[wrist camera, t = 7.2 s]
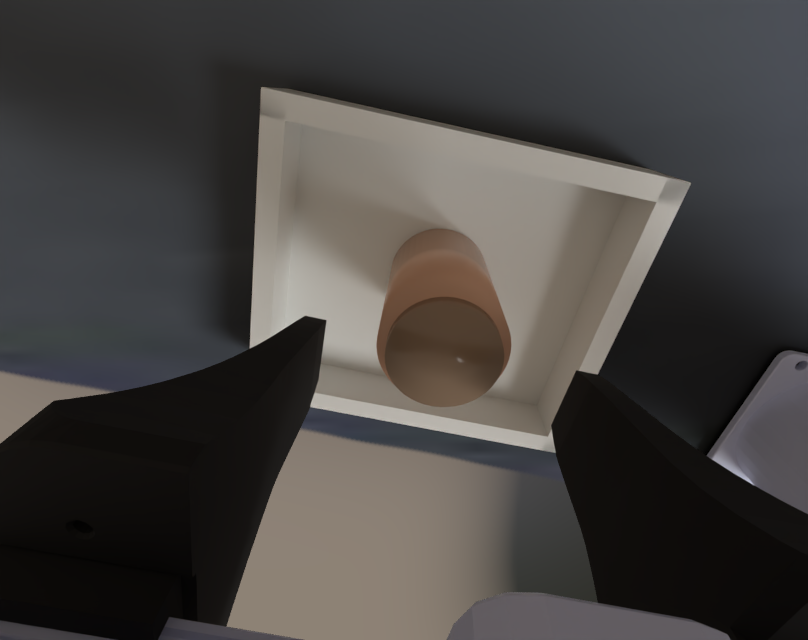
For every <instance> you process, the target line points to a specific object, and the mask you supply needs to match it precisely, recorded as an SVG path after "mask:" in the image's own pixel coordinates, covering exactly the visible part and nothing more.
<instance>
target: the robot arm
mask: <svg viewBox="0 0 808 640" xmlns="http://www.w3.org/2000/svg"><path fill="white" fill-rule="evenodd" d="M326 321H327V320H324V319H319V318H314V317H309V316H304V317H302V318H300V319H299V320H297V321H295V322H294V323H292V324H291V325H289V326H288V327H286V328H284V329H283V330H281V331H280V332H278V333H277V334H275V335H273V336H272V337H270V338H268V339H267V340H265V341H263V342H262V343H260V344H258V345H256V346H254V347H252V348H250V349H248V350H246V351H244V352H242V353H241V354H239V355H237V356H234V357H232V358H230V359H228V360H225V361H223V362H221V363H218V364H216V365H213V366H211V367H208V368H205V369H203V370H200V371H197V372H193V373H190V374H187V375H184V376H180V377H177V378H174V379H171V380H167V381H164V382H160V383H156V384H152V385H148V386H143V387H139V388H134V389H129V390H124V391H119V392H113V393H108V394H101V395H94V396H87V397H80V398H73V399H65V400H57V401H53V402H52V403H51V404H50V405H48V406H47V407H45V408H44V409H43V410H42V411H40V412H39V413H38V414H37V415H35V416H34V417H33V418H32V419H30V420H29V421H28V422H27V423H25V424H24V425H23V426H22V427H20V428H19V429H18V430H17V431H16V432H14V433H13V434H12V435H11V436H9V437H8V438H7V439H6V440H5V441H3V442H2V443H1V444H0V640H302V639H296V638H290V637H284V636H279V635H273V634H267V633H261V632H255V631H249V630H243V629H237V628H231V627H226V626H227V622H228V619H229V616H230V613H231V610H232V606H233V603H234V600H235V597H236V594H237V591H238V588H239V585H240V582H241V579H242V576H243V573H244V570H245V567H246V563H247V560H248V558H249V555H250V552H251V548H252V546H253V543H254V540H255V537H256V534H257V531H258V528H259V525H260V522H261V519H262V517H263V514H264V511H265V508H266V505H267V502H268V499H269V497H270V494H271V491H272V488H273V486H274V484H275V481H276V479H277V476H278V474H279V472H280V470H281V467H282V465H283V463H284V461H285V459H286V457H287V455H288V453H289V451H290V449H291V447H292V445H293V442H294V440H295V438H296V436H297V434H298V432H299V430H300V428H301V426H302V423H303V421H304V419H305V417H306V415H307V413H308V411H309V408H310V405H311V402H312V399H313V396H314V393H315V390H316V386H317V383H318V380H319V373H320V365H321V358H322V351H323V343H324V336H325V328H326ZM798 362H800V363H799V364H798V365H796V364H797V363H798ZM551 428H552V435H553V441H554V446H555V452H556V457H557V460H558V463H559V466H560V469H561V472H562V475H563V478H564V481H565V484H566V487H567V490H568V493H569V496H570V499H571V502H572V504H573V507H574V510H575V513H576V516H577V519H578V522H579V525H580V528H581V531H582V534H583V538H584V541H585V545H586V549H587V553H588V557H589V562H590V567H591V571H592V575H593V580H594V585H595V590H596V595H597V600H598V603H595V602H590V601H584V600H579V599H573V598H567V597H562V596H556V595H550V594H545V593H528V592H526V593H525V592H522V593H521V592H505V593H502V594H499V595H496V596H493V597H490V598H487V599H484V600H481V601H477V602H476V603H475V604H473V606H472V607H471V608H470V609H468V610H467V612H465V613H464V614H463V616H461V617H460V618H459V619H458V621H457V622H456V623H454V625H453V627H452V629H451V631H450V634H449V636H448V638H447V640H808V354H806V353H802V352H797V351H791V350H787V351H784V352H781V353H780V354H778V355H777V356H776V357H775V359H774V360H773V361H772V363H771V364H770V366H769V367H768V369H767V370H766V371H765V373H764V374H763V376H762V377H761V379H760V380H759V381H758V383H757V384H756V386H755V387H754V389H753V390H752V391H751V393H750V394H749V396H748V397H747V399H746V400H745V401H744V403H743V404H742V406H741V407H740V409H739V410H738V411H737V413H736V414H735V416H734V417H733V419H732V420H731V421H730V423H729V424H728V426H727V427H726V429H725V430H724V431H723V433H722V434H721V436H720V437H719V439H718V440H717V441H716V443H715V444H714V446H713V447H712V449H711V450H710V451H709V453H708V454H707V456H706V455H704V454H703V453H702V452H700V451H699V450H697V449H696V448H694V447H693V446H691V445H690V444H689V443H687V442H686V441H685V440H683V439H682V438H680V437H679V436H678V435H676V434H675V433H674V432H672V431H671V430H670V429H668V428H667V427H666V426H664V425H663V424H662V423H660V422H659V421H658V420H657V419H655V418H654V417H653V416H651V415H650V414H649V413H648V412H646V411H645V410H644V409H643V408H641V407H640V406H639V405H638V404H636V403H635V402H634V401H633V400H631V399H630V398H629V397H628V396H626V395H625V394H624V393H622V392H621V391H620V390H619V389H617V388H616V387H615V386H613V385H612V384H611V383H609V382H608V381H606V380H605V379H604V378H602V377H600V376H599V375H597V374H592V373H587V372H582V371H577V370H576V372H575V374H574V376H573V378H572V381H571V383H570V385H569V387H568V389H567V392H566V394H565V396H564V398H563V400H562V402H561V405H560V407H559V409H558V411H557V413H556V416H555V418H554V420H553V422H552V424H551Z"/></svg>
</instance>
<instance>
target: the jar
mask: <svg viewBox="0 0 808 640" xmlns="http://www.w3.org/2000/svg"><path fill="white" fill-rule="evenodd" d="M376 347H377V356H378V360H379V363H380V365H381V368H382V369H383V371H384V373H385V375H386V376H387V377H388V379H389V380H390V381H391V382H392V383H393V384H394V385H395V386H396V387H397V388H398V389H399V390H400V391H401V392H402V393H403V394H404V395H406V396H407V397H409V398H410V399H412V400H414V401H416V402H419V403H421V404H424V405H429V406H434V407H454V406H459V405H463V404H466V403H469V402H471V401H473V400H476V399H477V398H479V397H481V396H482V395H483V394H485V393H486V392H487V391H488V390H489V389H490V388H491V387H492V386H493V385H494V384H495V382H496V381H497V379H498V378H499V377H500V376H501V374H502V373H503V371H504V369H505V368H506V366H507V363H508V361H509V357H510V353H511V335H510V330H509V327H508V325H507V322H506V319H505V316H504V313H503V310H502V308H501V305H500V302H499V299H498V296H497V294H496V291H495V288H494V285H493V282H492V279H491V277H490V274H489V271H488V268H487V265H486V263H485V260H484V257H483V255H482V253H481V251H480V249H479V248H478V247H477V245H476V244H475V243H474V242H473V241H472V240H471V239H469V238H468V237H467V236H465V235H463V234H461V233H459V232H456V231H453V230H449V229H430V230H426V231H422V232H420V233H418V234H416V235H414V236H412V237H411V238H409V239H408V240H407V241H406V242H405V243H404V244H403V245H402V246H401V247H400V248H399V250H398V251H397V253H396V255H395V257H394V259H393V262H392V267H391V271H390V276H389V281H388V286H387V291H386V296H385V301H384V306H383V311H382V316H381V320H380V325H379V330H378V335H377V343H376Z"/></svg>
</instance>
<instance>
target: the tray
mask: <svg viewBox="0 0 808 640" xmlns="http://www.w3.org/2000/svg"><path fill="white" fill-rule="evenodd" d="M690 185H691V183H690V182H687V181H684V180H681V179H678V178H675V177H672V176H669V175H666V174H663V173H660V172H657V171H654V170H651V169H647V168H642V167H638V166H633V165H629V164H624V163H620V162H615V161H611V160H606V159H602V158H597V157H593V156H588V155H584V154H579V153H575V152H570V151H566V150H562V149H557V148H553V147H548V146H544V145H539V144H535V143H530V142H526V141H521V140H517V139H512V138H508V137H503V136H499V135H494V134H490V133H485V132H481V131H477V130H472V129H468V128H463V127H459V126H454V125H450V124H445V123H441V122H436V121H432V120H427V119H423V118H418V117H414V116H409V115H405V114H400V113H396V112H391V111H387V110H383V109H378V108H374V107H369V106H365V105H360V104H356V103H351V102H347V101H342V100H338V99H333V98H329V97H324V96H320V95H315V94H311V93H306V92H302V91H298V90H293V89H289V88H270V87H261V100H260V123H259V146H258V169H257V192H256V215H255V238H254V261H253V284H252V307H251V330H250V348H252V347H254V346H256V345H258V344H260V343H262V342H263V341H265V340H267V339H268V338H270V337H272V336H273V335H275V334H277V333H278V332H280V331H281V330H283V329H284V328H286V327H288V326H289V325H291V324H292V323H294V322H295V321H297V320H299V319H300V318H302V317H304V316H309V317H314V318H319V319H324V320H327V321H326V328H325V336H324V343H323V351H322V358H321V365H320V373H319V380H318V383H317V386H316V390H315V393H314V396H313V399H312V402H311V405H310V407H314V408H319V409H324V410H330V411H335V412H340V413H346V414H351V415H356V416H362V417H367V418H372V419H378V420H383V421H388V422H394V423H399V424H404V425H410V426H415V427H420V428H426V429H431V430H436V431H442V432H447V433H452V434H458V435H463V436H468V437H474V438H479V439H484V440H490V441H495V442H500V443H506V444H511V445H516V446H522V447H527V448H532V449H537V450H543V451H548V452H553V453H556V452H555V446H554V441H553V435H552V428H551V424H552V422H553V420H554V418H555V416H556V413H557V411H558V409H559V407H560V405H561V402H562V400H563V398H564V396H565V394H566V392H567V389H568V387H569V385H570V383H571V381H572V378H573V376H574V374H575V372H576V370H577V371H582V372H587V373H592V374H597V375H598V373H599V371H600V369H601V367H602V365H603V363H604V361H605V359H606V357H607V354H608V352H609V350H610V348H611V346H612V344H613V342H614V340H615V338H616V336H617V334H618V332H619V330H620V328H621V326H622V324H623V322H624V320H625V318H626V316H627V314H628V312H629V309H630V307H631V305H632V303H633V301H634V299H635V297H636V295H637V293H638V291H639V289H640V287H641V285H642V283H643V281H644V279H645V277H646V275H647V273H648V271H649V269H650V267H651V264H652V262H653V260H654V258H655V256H656V254H657V252H658V250H659V248H660V246H661V244H662V242H663V240H664V238H665V236H666V234H667V232H668V230H669V228H670V226H671V224H672V222H673V219H674V217H675V215H676V213H677V211H678V209H679V207H680V205H681V203H682V201H683V199H684V197H685V195H686V193H687V191H688V189H689V187H690ZM430 229H449V230H453V231H456V232H459V233H461V234H463V235H465V236H467V237H468V238H469V239H471V240H472V241H473V242H474V243H475V244H476V245H477V247H478V248H479V249H480V251H481V253H482V255H483V257H484V260H485V263H486V265H487V268H488V271H489V274H490V277H491V279H492V282H493V285H494V288H495V291H496V294H497V296H498V299H499V302H500V305H501V308H502V310H503V313H504V316H505V319H506V322H507V325H508V327H509V330H510V335H511V353H510V357H509V361H508V363H507V366H506V368H505V369H504V371H503V373H502V374H501V376H500V377H499V378H498V379H497V381H496V382H495V384H494V385H493V386H492V387H491V388H490V389H489V390H488V391H487V392H486V393H485V394H483V395H482V396H481V397H479V398H477V399H476V400H473V401H471V402H469V403H466V404H463V405H459V406H454V407H434V406H429V405H424V404H421V403H419V402H416V401H414V400H412V399H410V398H409V397H407V396H406V395H404V394H403V393H402V392H401V391H400V390H399V389H398V388H397V387H396V386H395V385H394V384H393V383H392V382H391V381H390V380H389V379H388V377H387V376H386V375H385V373H384V371H383V369H382V368H381V365H380V363H379V360H378V356H377V347H376V343H377V335H378V330H379V325H380V320H381V316H382V311H383V306H384V301H385V296H386V291H387V286H388V281H389V276H390V271H391V267H392V262H393V259H394V257H395V255H396V253H397V251H398V250H399V248H400V247H401V246H402V245H403V244H404V243H405V242H406V241H407V240H408V239H409V238H411V237H412V236H414V235H416V234H418V233H420V232H422V231H426V230H430Z"/></svg>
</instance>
